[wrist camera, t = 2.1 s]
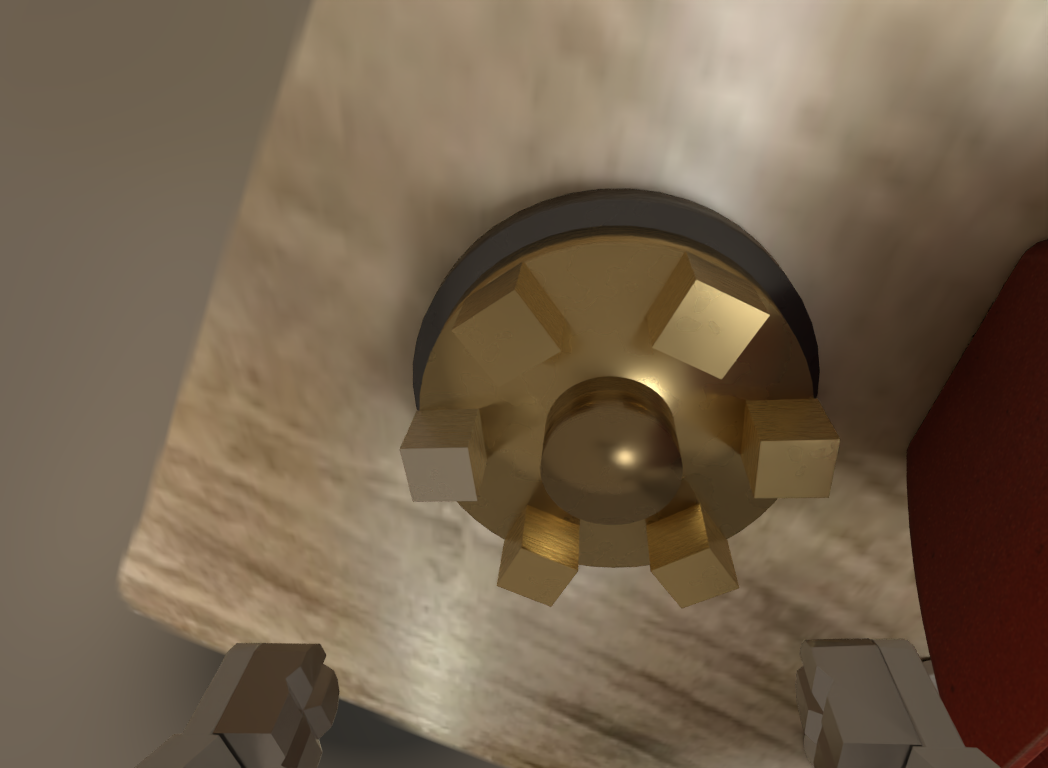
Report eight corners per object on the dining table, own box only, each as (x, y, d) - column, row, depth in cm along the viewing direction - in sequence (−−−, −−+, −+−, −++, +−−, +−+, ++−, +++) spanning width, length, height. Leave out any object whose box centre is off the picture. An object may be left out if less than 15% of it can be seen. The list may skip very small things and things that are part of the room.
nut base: (836, 170, 26) (855, 183, 24) (783, 519, 37) (793, 547, 35) (386, 205, 29) (371, 219, 27) (453, 520, 39) (446, 547, 37)
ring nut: (824, 210, 25) (876, 256, 21) (776, 533, 34) (805, 616, 30) (399, 239, 28) (358, 286, 23) (460, 534, 37) (440, 611, 32)
